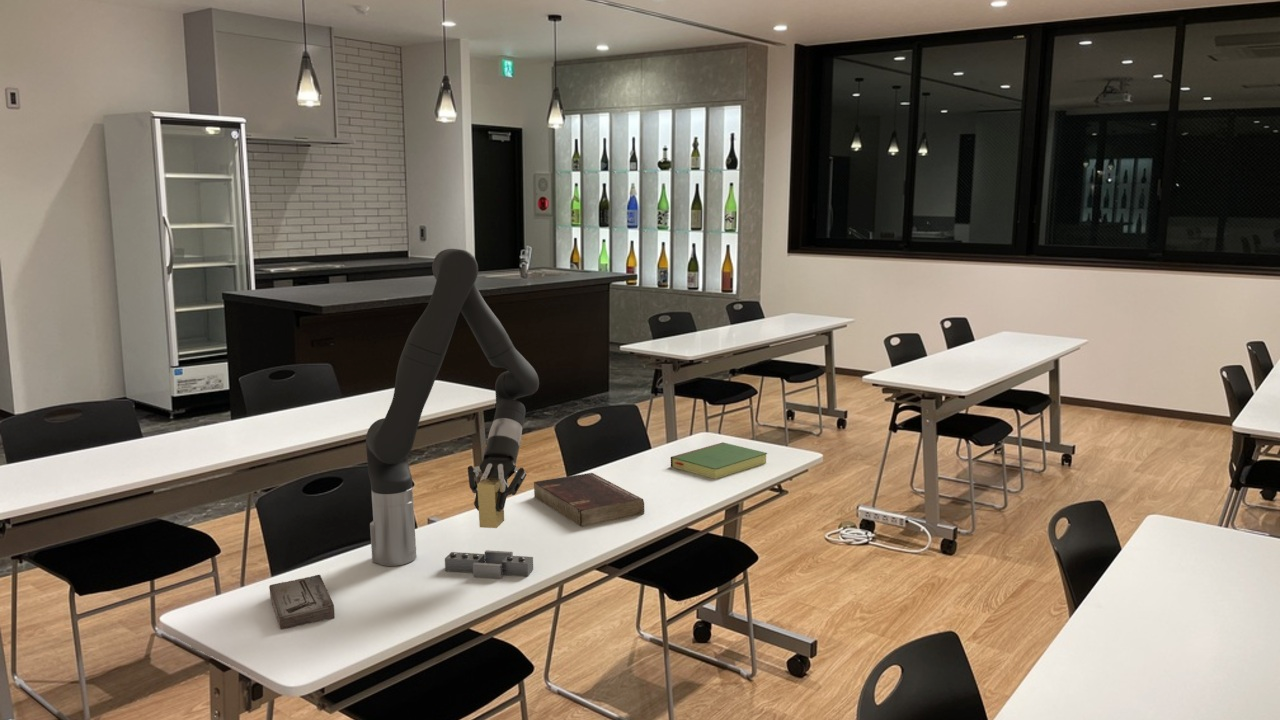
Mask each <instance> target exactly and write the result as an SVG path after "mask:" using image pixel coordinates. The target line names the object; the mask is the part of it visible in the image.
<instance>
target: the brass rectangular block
mask: <svg viewBox="0 0 1280 720" xmlns="http://www.w3.org/2000/svg"><path fill="white" fill-rule="evenodd" d="M500 481H501V479H499V478H486V479H483V480H482V481H480V480H479V482H477V488H478V506H479V511H478V522H479V523H478V524H479V528H483V529H486V528H488V529H498V527H499V526H500V525H502V524H503V523H504V522H505V507H504V508H503V509H501V512H497V510H496V509H495V506H496V503H497V498H498V494H499V493H500V484H501V483H500Z"/></svg>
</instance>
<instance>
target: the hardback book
mask: <svg viewBox="0 0 1280 720" xmlns="http://www.w3.org/2000/svg"><path fill="white" fill-rule="evenodd" d="M533 491H534V492H533V493H534V498H535V499H536V500H538V501H540V502H541V503H543V504H545V505H546V506H547V507H548V508H551V509H552V510H554V511H556V512H557V513H559V514H560V515H561V516H562V517H565V518H566V519H568V520H569V521H571V522H573V523H574V524H575V525H577V526H580V528H583V527H588V526H589V527H590V526H594V525H599V524H603V523H608V522H612V521H617V520H621V519H626V518H631V517H636V516H640V515H644V514H645V502H644V499H643V498H641V497H640V496H638V495H635V494H634V493H632V492H630V491H628V490H627V489H624V488H622V487H620V486H619V485H616V484H615V483H613V482H611V481H609V480H607V479H605V478H604V477H601V476H600V475H598V474H596V473H593V472H590V473H582V474H575V475H569V476H562V477H557V478H551V479H550V478H549V479H544V480H543V479H542V480H538V481H537V480H536V481H533Z"/></svg>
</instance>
